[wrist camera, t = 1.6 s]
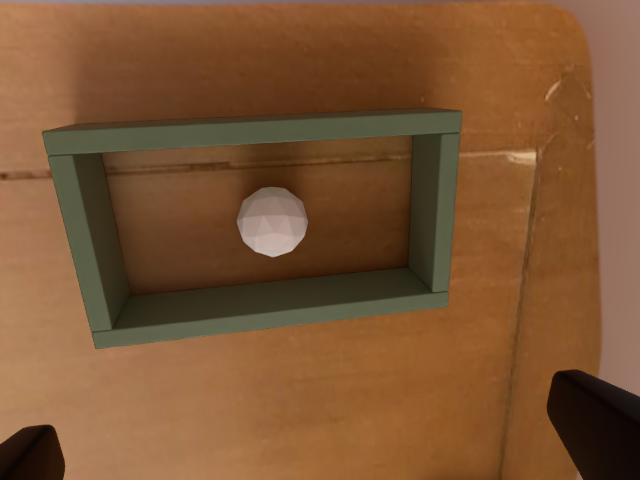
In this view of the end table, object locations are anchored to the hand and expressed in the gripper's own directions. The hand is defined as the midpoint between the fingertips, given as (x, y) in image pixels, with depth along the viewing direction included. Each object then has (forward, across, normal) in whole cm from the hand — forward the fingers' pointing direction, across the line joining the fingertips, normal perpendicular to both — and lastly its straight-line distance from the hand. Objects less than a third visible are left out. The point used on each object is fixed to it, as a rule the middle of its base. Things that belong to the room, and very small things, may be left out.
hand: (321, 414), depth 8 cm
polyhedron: (+13, +1, 0) cm, 13 cm away
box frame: (+13, +1, 0) cm, 13 cm away
